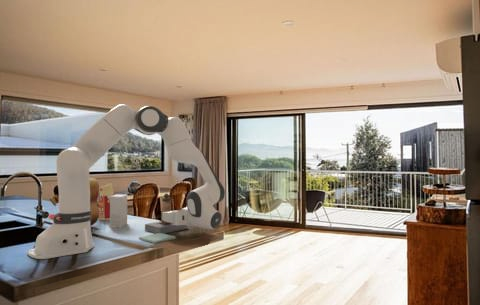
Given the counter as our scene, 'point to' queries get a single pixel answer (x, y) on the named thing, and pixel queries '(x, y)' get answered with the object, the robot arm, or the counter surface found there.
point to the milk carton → (105, 201)
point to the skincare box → (118, 210)
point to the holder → (163, 227)
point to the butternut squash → (94, 200)
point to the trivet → (157, 238)
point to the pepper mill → (165, 207)
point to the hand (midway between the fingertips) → (172, 212)
